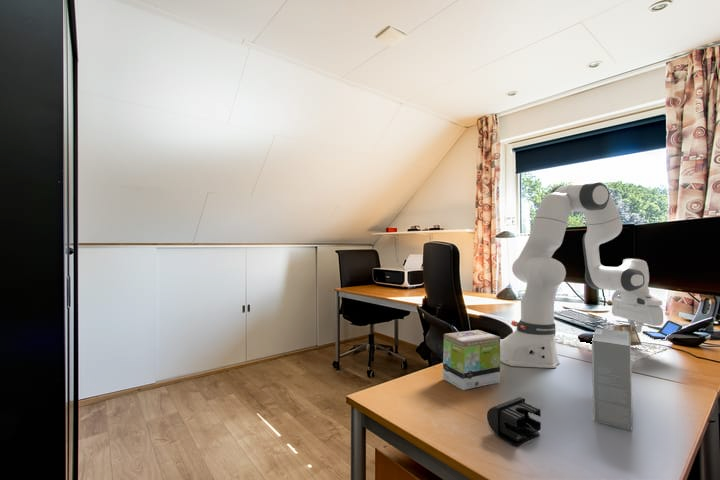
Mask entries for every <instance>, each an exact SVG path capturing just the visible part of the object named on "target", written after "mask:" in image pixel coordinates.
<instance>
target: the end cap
mask: <svg viewBox="0 0 720 480" xmlns="http://www.w3.org/2000/svg"><path fill="white" fill-rule="evenodd" d="M541 412H542V411H541V408H538V407H536V406H534V405H531V404H529V403H527V402H526V398H525V397H522V396H521V397H520V396H519V397H516V398H513V399H510V400H508V401H505V402H502V403H500V404H497V405H494V406H492V407H490V408H489V409H488V410H487V413H486V420H487V424H488V425H489V428H490V429H491V431H492V432H493V433H494V434H495V435H496V436H497V437H498V439H500V440H502V441H503V442H505V443H506V444H508V445H511V446H512V447H514V448H518V447H520V446H522V445H524V444H526V443H528V442H531V441H532V440H535V439H536V438H539V437H541V435H540V434H541V433H540V430H541V427H542V426H541V425H542V424H541V423H542V422H541V421H539V420H538V419H535V418H533V417H531V416H530V414H531V415H535V416H536V417H539V418H540V417H541V416H542V414H541ZM529 413H530V414H529Z"/></svg>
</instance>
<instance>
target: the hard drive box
mask: <svg viewBox="0 0 720 480" xmlns="http://www.w3.org/2000/svg"><path fill="white" fill-rule="evenodd" d="M593 333H594V335H593V338H592V341H591V342H592V351H591V372H592V373H591V375H592V377H591V379H592V420H593V421H594V422H597V423H600V424H605V425H608V426H612V427H616V428H620V429H623V430H627V431H630V432H631V431H632V429H633V427H632V426H633V424H632V423H633V422H632V421H633V381H632V375H633V374H632V361H631V360H632V359H631V340H630V333H629V332H626V331H618V330H614V329H609V328H601V327H596V328H595V330H594V331H593Z"/></svg>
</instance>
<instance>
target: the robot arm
mask: <svg viewBox="0 0 720 480" xmlns="http://www.w3.org/2000/svg"><path fill="white" fill-rule="evenodd" d="M619 211H620V210H619V209H618V207H617V204H616V202H615V200H614V199H613V197H612V195H611V194H610V191H609V188H608V187H607V186H606V184H604V183H603V182H601V181H592V180H591V181H587V182H585V181H584V182H572V183H571V182H570V183H567V184H560V185H559V186H555V187H554V188H552V189H551V190H550V191H549V193H548V194H546V195H545V196H543V198H542V200H541V202H540V203H539V206H538V208H537V210H536V213H535V217H534V220H533V223H532V226H531V230H530V232H529V236H528V238H527V241H526V243H525V245H524V247H523V249H522V251H521V252H520V254H519V256H518V257H517V258H516V259H515V260H514V262H513V264H512V266H511V267H512V268H511V269H512V274H513V275H514V276H515V278H517V279H518V280H520V281H521V282H523V283H526V286H525V291H524V295H523V296H522V297H521V299H520V319H519V321H516V320H511V322H510V325H512V326H513V327H515V328H516V330H514V331H513V332H511V333H510V334H509V335H507V336H506V337H504V338H503V339H502V340H501V341H500V363H503V364H505V365H507V366H511V367H526V368H541V369H542V368H546V369H547V368H548V369H549V368H550V369H556V367H557V366H558V365H559V364H560V359H559V356H558V351H557V345H556V342H555V333H556V331H557V329H556V323H555V302H556V301H555V299H556V296H557V293H558V289H559V287H560V285H561V284H562V283H563V282H564V281H565V279H566V275H567V271H566V267H565V265H564V264H563V263H562V262H561V261H559V260H557V259H555V258H553V255H554V253H555V252H556V251H557V250H558V249H559V248H560V247H561V245H562V244H563V241H564V237H565V233H566V229H567V225H568V223H569V218H570V214H571V212H576V213H577V212H582V213H583V216H584V221H585V225H586V232H585V233H584V234H583V237H582V250H583V257H584V259H583V260H584V267H585V273H584V278H585V279H584V280H585V282H586V284H588V285H587V286H589V287H590V289H591V288H592V289H593V290H608V291H620V292H621V295H620V294H616V295H615V296H614V297H613V302H612V307H611V314H612V315H613V316H615V317H618V318H621V319H626V320H627V323H628V325H630V326H631V331H634V332H637V333H641V332H642V328H643V326H644V325H649V326H650V325H651V326H653V327H654V326H657V327H659V326H662V325H663V324H664V312H663V308H662V307H661V306H662V305H663V301H662V300H661V299H659V298H658V297H655V296H653V295H652V294H650V289H649V282H650V272H649V266H648V263H647V261H645V260H644V259H640V258H629V257H628V258H625V259H624V258H623V260H622V264H621V265H618V266H605V265H603V264H602V263H601V258H600V245H602V244H605V243H608V242H609V241H612V240H614V239H615V238H616V237H618V236H619V235H620V234H621V232H622V230H623V222H622V218H621V215H620V212H619Z"/></svg>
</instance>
